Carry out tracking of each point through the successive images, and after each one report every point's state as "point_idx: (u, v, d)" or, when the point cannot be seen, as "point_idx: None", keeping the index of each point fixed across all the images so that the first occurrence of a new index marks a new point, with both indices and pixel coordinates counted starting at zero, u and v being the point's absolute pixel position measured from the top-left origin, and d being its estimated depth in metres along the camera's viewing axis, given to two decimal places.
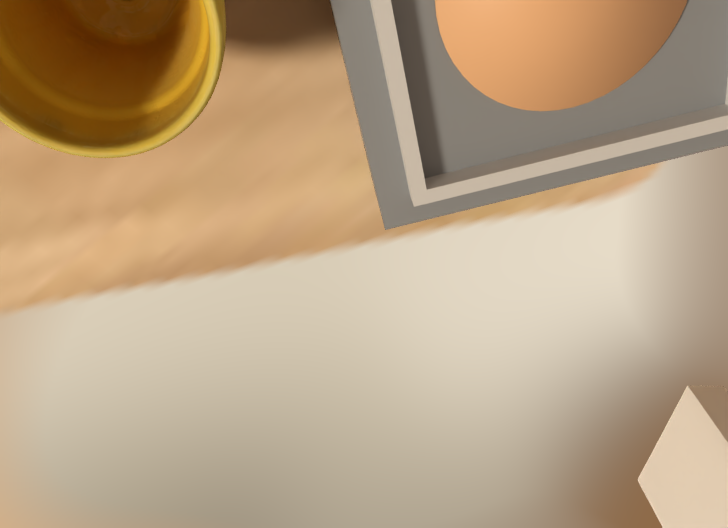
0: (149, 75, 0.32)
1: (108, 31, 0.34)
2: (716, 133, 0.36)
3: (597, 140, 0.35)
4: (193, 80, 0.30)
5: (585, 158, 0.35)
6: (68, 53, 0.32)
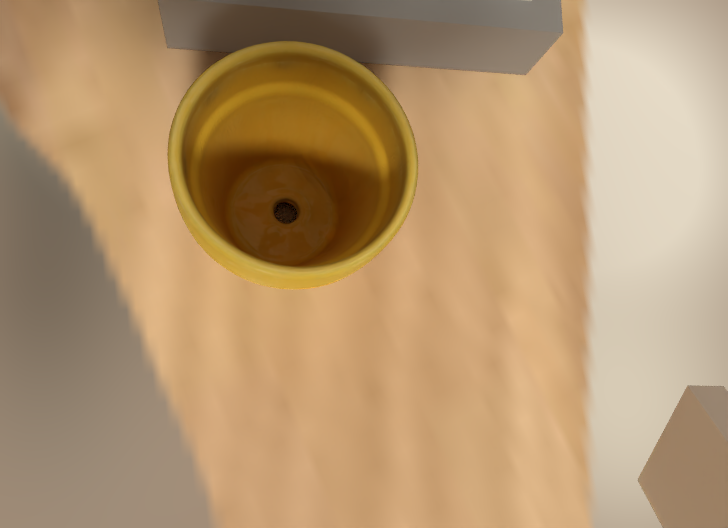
0: (360, 190, 0.34)
1: (320, 242, 0.37)
2: None
3: None
4: (368, 120, 0.32)
5: None
6: (325, 257, 0.34)
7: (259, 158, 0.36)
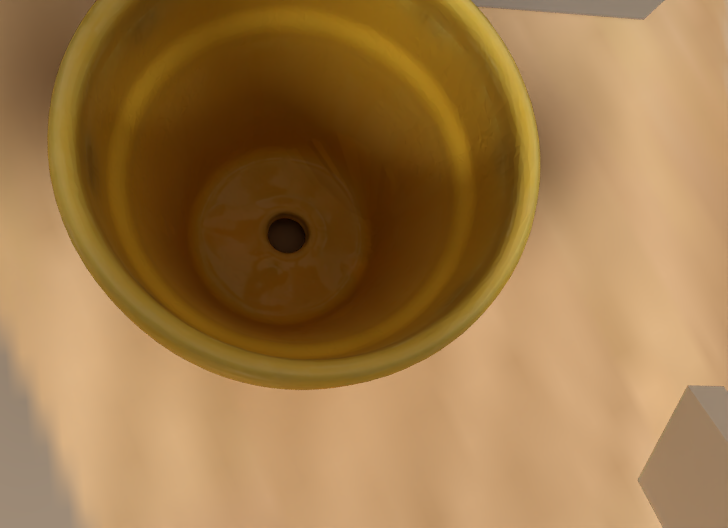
0: (414, 199, 0.20)
1: (344, 282, 0.23)
2: None
3: None
4: (433, 75, 0.18)
5: None
6: (356, 313, 0.20)
7: (243, 148, 0.23)
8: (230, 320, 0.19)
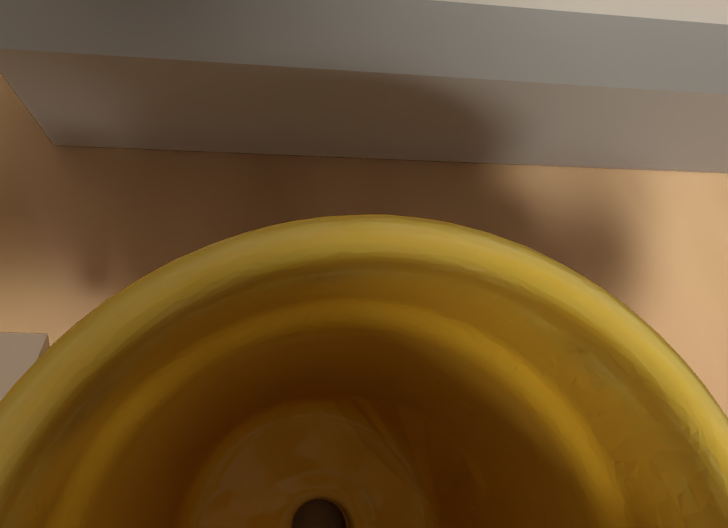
0: None
1: None
2: None
3: None
4: (572, 403, 0.11)
5: None
6: None
7: (257, 409, 0.16)
8: None
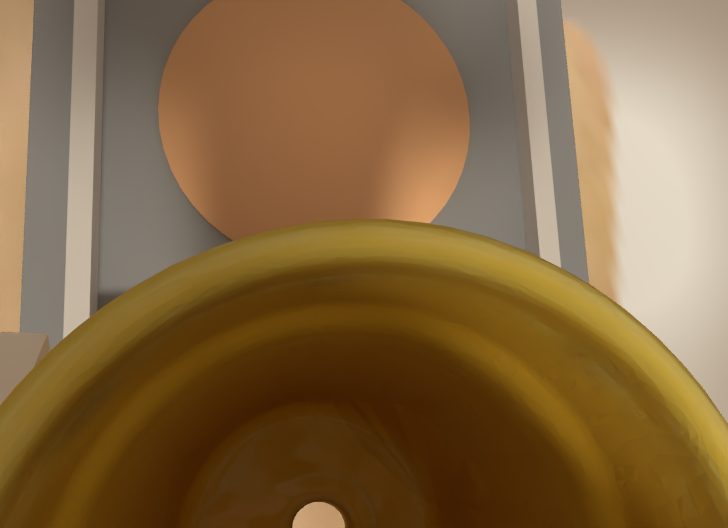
0: None
1: None
2: None
3: (517, 88, 0.28)
4: (572, 407, 0.11)
5: (537, 103, 0.27)
6: None
7: (257, 412, 0.16)
8: None
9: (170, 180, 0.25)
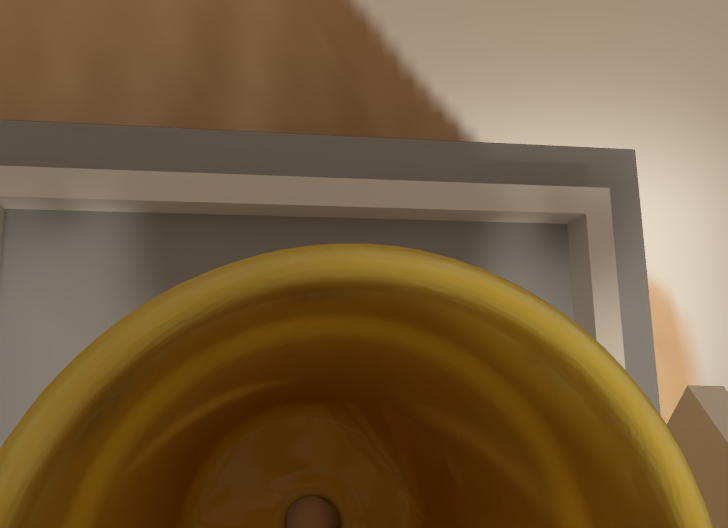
0: (493, 527, 0.14)
1: None
2: (616, 234, 0.21)
3: None
4: (535, 408, 0.12)
5: None
6: None
7: (253, 413, 0.17)
8: None
9: None
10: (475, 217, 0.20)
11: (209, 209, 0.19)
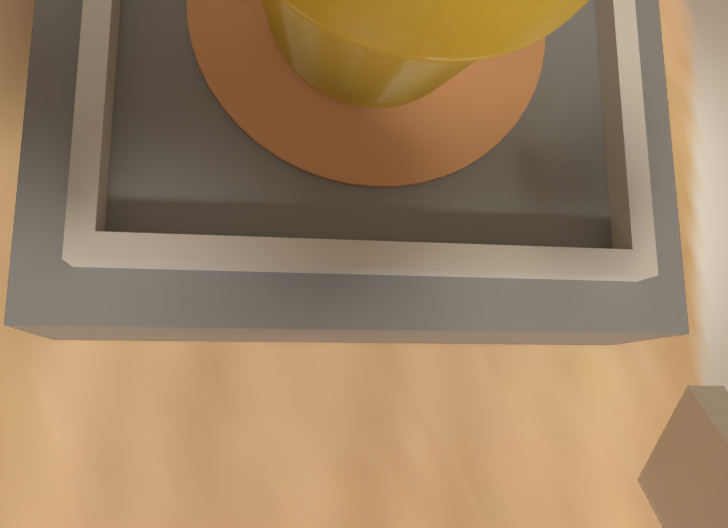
0: None
1: None
2: None
3: None
4: None
5: (626, 11, 0.23)
6: None
7: None
8: None
9: (197, 77, 0.22)
10: None
11: None
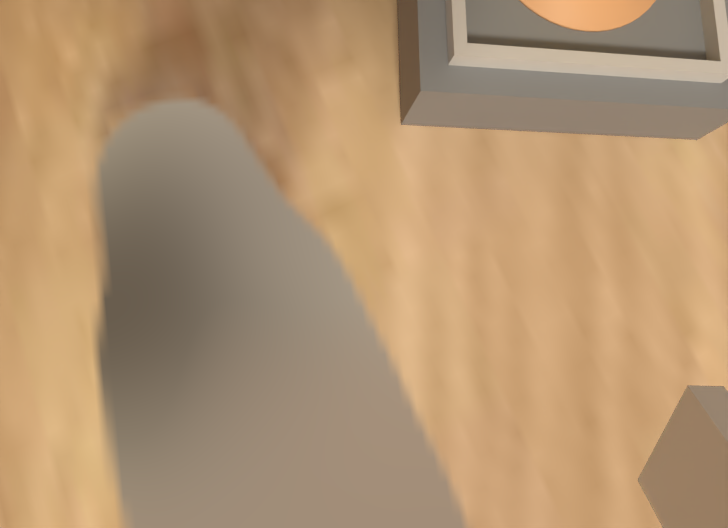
0: None
1: None
2: None
3: None
4: None
5: None
6: None
7: None
8: None
9: None
10: None
11: None
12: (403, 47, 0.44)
